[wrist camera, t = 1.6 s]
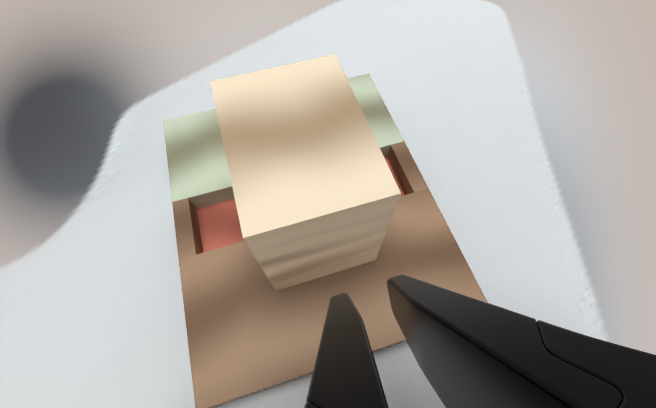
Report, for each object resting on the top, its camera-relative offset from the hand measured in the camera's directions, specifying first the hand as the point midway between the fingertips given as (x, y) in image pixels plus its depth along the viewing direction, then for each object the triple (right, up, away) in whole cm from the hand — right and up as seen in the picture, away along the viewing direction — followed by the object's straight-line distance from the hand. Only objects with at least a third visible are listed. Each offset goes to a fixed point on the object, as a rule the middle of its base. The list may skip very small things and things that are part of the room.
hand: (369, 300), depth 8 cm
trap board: (-2, +1, +15) cm, 15 cm away
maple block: (-2, +2, +13) cm, 13 cm away
